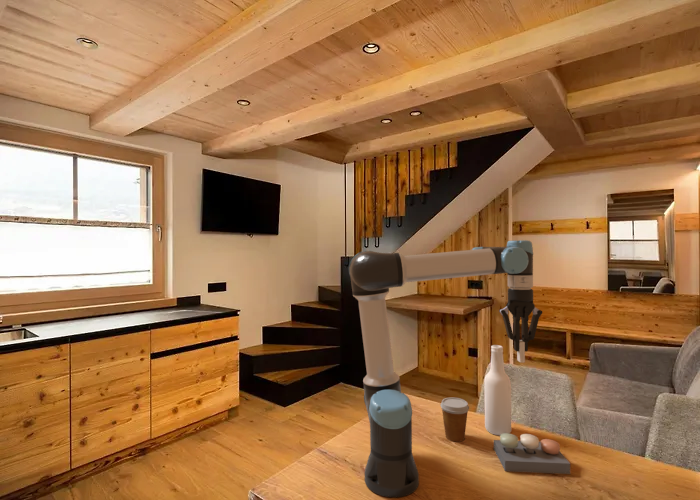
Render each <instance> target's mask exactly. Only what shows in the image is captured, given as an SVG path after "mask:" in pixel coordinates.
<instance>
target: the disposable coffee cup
mask: <svg viewBox="0 0 700 500" xmlns="http://www.w3.org/2000/svg"><path fill="white" fill-rule="evenodd" d="M439 405H440V407H441V411H442V412H441V413H442V418H443V427H444V434H445V438H446V439H447V440H448V441H451V442H463V441H464V440H465V436H466V428H467V420H468V412H469V410H470V406H469V403H468V401H466V400H465V399H463V398H460V397H446V398H443V399H442V400H441V403H440V404H439Z"/></svg>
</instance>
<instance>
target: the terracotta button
mask: <svg viewBox="0 0 700 500" xmlns="http://www.w3.org/2000/svg"><path fill="white" fill-rule="evenodd" d="M540 442H541V449H542V450H543V451H544V452H546V454H550V455H554V454H559V453H560V452H561V451H560V450H561V447H560V446H561V445H560V443H559V442H558V441H557V440H553V439H549V438H545V439H543V438H542V439H541V440H540Z"/></svg>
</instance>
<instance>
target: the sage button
mask: <svg viewBox="0 0 700 500" xmlns="http://www.w3.org/2000/svg"><path fill="white" fill-rule="evenodd" d="M499 440H500V443H501V444H502V445H503V446H505V452H506V453H513V448H516V447H518V441H519V438H518V436H517V435H515V434H512V433H503V434H501V435H500V436H499Z"/></svg>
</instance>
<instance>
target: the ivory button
mask: <svg viewBox="0 0 700 500" xmlns="http://www.w3.org/2000/svg"><path fill="white" fill-rule="evenodd" d="M519 437H520V441H521V445H522V446H524V447H526V454H534V449H536V448H538V447H539V442H540V441H539V440H540V439H539V437H537V435H534V434H530V433H522V434H520V436H519Z"/></svg>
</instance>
